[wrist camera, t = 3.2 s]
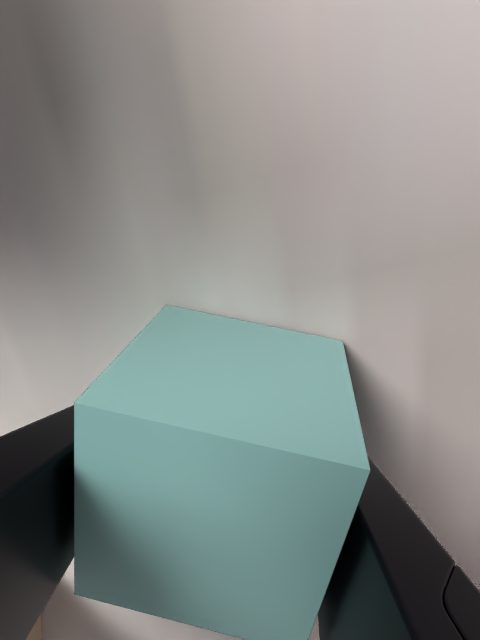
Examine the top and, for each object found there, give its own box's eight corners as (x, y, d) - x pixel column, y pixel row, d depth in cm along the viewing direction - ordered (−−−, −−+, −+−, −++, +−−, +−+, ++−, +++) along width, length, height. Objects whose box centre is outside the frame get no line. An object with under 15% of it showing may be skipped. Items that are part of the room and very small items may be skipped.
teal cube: (342, 341, 9) (370, 470, 5) (303, 479, 10) (302, 654, 7) (166, 304, 9) (74, 402, 5) (153, 444, 11) (74, 594, 7)
